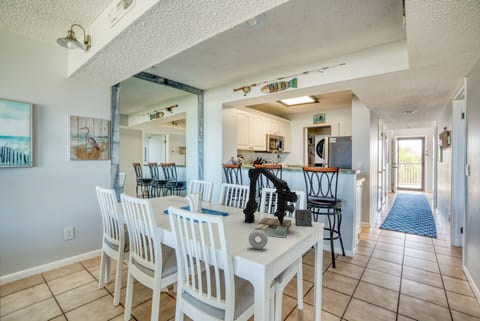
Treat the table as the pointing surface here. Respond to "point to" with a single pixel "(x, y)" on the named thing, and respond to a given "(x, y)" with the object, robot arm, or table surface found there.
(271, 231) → the mat
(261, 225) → the maple tile
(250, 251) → the table surface
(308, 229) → the table surface
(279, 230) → the sage tile
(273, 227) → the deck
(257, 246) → the donut
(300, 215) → the small box
